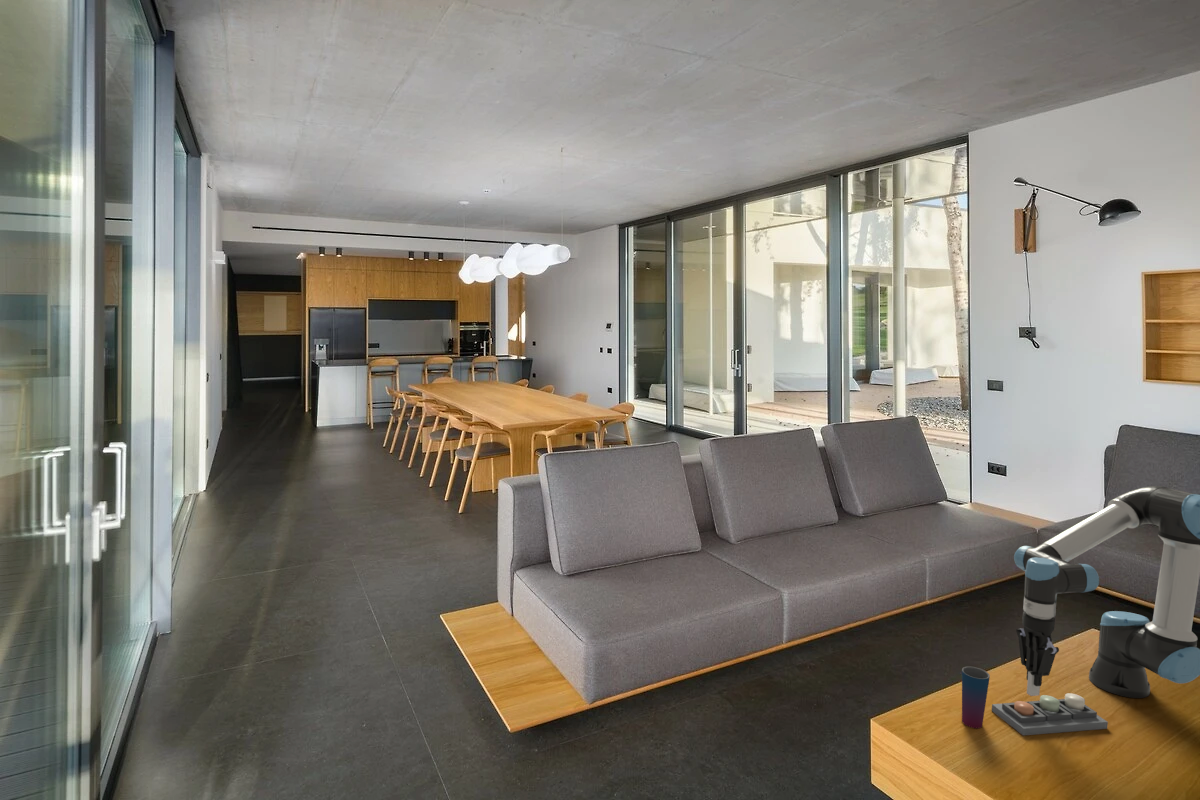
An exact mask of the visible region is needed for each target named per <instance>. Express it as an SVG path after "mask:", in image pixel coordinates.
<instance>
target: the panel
mask: <svg viewBox="0 0 1200 800" xmlns="http://www.w3.org/2000/svg"><path fill="white" fill-rule="evenodd" d="M1057 699H1058V700H1059V701H1060V704H1059V711H1058V712H1050V711H1047V710H1044V709H1043V708H1041V707H1040V700H1033V701H1032V700H1031V701H1030V700H1029V701H1026V702H1027V703H1029V704H1031V705H1032V706H1033V707H1034V711H1033V715H1028V716H1022V715H1021V714H1019V713H1018V712H1017V711H1015V710H1014V704H1015V702H1005V703H993V704H991V712H993V713H994V714H995V715H996V716H998V718H1000V719H1001V720H1002V721H1004V722H1005V723H1007V724H1008V725H1009V726H1010V727H1012V728H1013V729H1014V730H1016V731H1017V732H1018V733H1020V735H1022V736H1030V735H1031V736H1032V735H1043V734H1044V735H1046V734H1058V733H1069V732H1071V733H1073V732H1083V731H1095V730H1105V729H1106V730H1107V729H1108V726H1109V725H1108V723H1109V721H1107V720H1106V719H1105V718H1102V717H1101V716H1100V715H1098V712H1097V711H1096V710H1094V709H1092V708H1091V707H1089V706H1088V705H1087V704H1085V705H1084V709H1083V710H1075V709H1072V708H1069V707H1068V706H1066V705H1065V698H1060V699H1059V698H1057Z"/></svg>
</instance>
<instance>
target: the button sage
mask: <svg viewBox="0 0 1200 800" xmlns="http://www.w3.org/2000/svg"><path fill="white" fill-rule="evenodd" d="M1058 699H1059V698H1056V697H1054V696H1052V695H1046V694H1043V695H1039V701H1040V707H1041V708H1043V709H1044V710H1047V711H1050V712H1058V711H1059V704H1060V701H1059V700H1058Z"/></svg>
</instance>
